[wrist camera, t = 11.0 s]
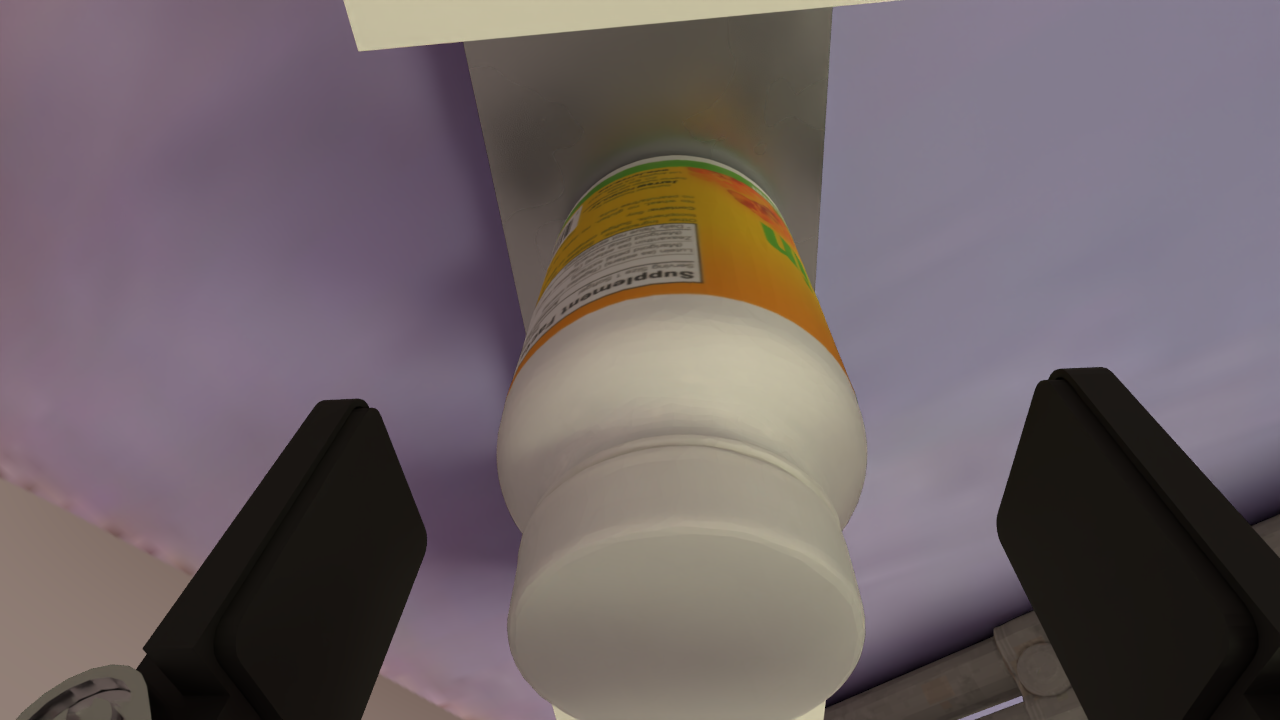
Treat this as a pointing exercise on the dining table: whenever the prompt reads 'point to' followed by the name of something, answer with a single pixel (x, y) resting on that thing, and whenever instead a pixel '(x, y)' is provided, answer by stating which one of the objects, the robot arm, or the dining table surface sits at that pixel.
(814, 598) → the supplement bottle
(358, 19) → the block
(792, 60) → the rail
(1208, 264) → the dining table surface
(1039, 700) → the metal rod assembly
